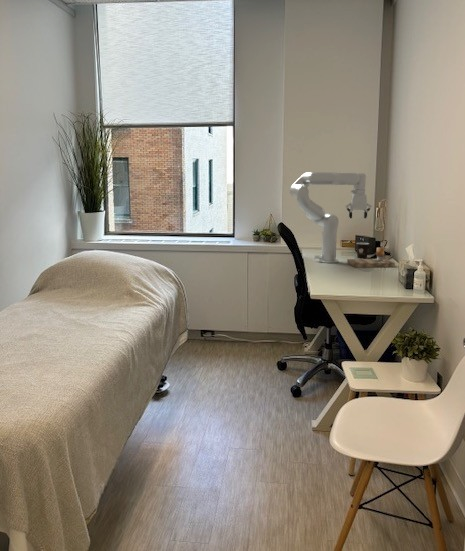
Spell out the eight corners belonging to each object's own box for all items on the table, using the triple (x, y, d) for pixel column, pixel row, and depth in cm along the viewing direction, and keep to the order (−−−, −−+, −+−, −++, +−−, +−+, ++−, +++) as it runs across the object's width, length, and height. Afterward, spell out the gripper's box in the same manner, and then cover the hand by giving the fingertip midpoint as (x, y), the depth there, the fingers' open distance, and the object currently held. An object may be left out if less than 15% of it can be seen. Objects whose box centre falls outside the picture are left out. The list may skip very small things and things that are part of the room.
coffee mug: (353, 257, 374) (353, 243, 372) (361, 256, 379) (361, 242, 377) (366, 259, 365) (367, 245, 363) (374, 258, 370) (375, 244, 368)
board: (354, 267, 336) (354, 263, 335) (347, 263, 351) (347, 259, 351) (394, 266, 337) (395, 262, 337) (386, 262, 353) (386, 258, 352)
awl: (377, 265, 342) (378, 248, 340) (374, 264, 347) (375, 247, 345) (384, 265, 342) (385, 248, 340) (381, 264, 347) (382, 247, 345)
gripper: (347, 192, 350) (346, 218, 353) (373, 192, 351) (372, 218, 354) (344, 192, 357) (343, 217, 361) (370, 192, 358) (369, 217, 361)
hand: (357, 218), depth 357 cm, fingers open, 9 cm apart
